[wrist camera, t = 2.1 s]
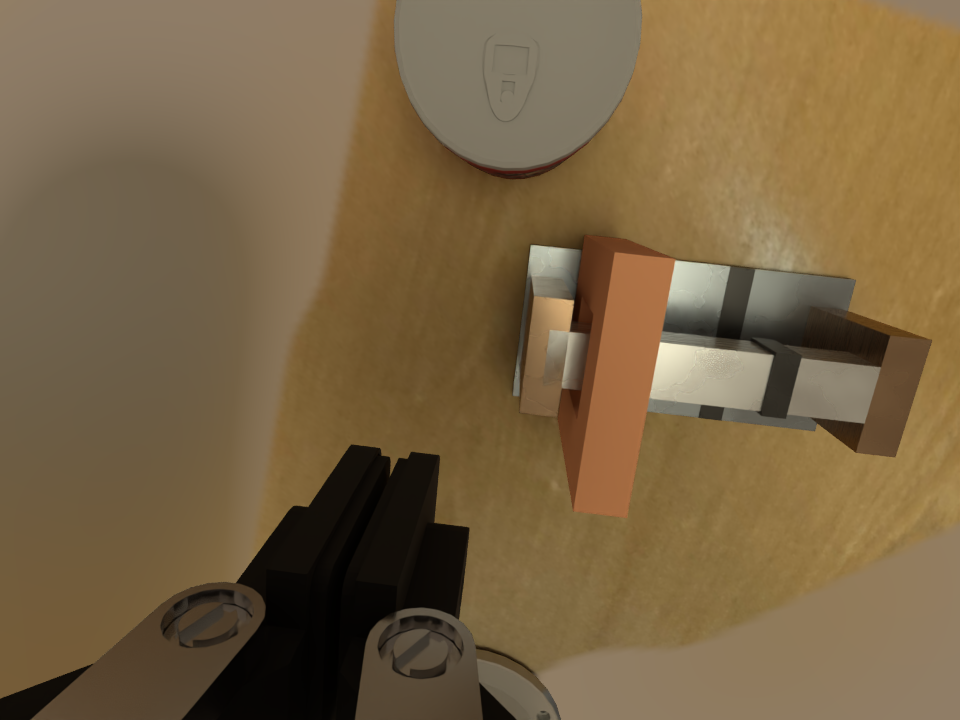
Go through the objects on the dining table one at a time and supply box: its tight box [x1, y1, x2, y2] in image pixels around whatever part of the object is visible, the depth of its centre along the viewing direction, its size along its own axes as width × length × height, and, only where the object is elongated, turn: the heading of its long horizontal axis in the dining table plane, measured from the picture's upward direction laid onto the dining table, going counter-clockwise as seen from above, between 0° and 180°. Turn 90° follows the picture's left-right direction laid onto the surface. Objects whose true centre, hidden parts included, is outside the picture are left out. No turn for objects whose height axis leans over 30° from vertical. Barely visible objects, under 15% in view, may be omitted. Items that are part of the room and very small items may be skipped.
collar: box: [558, 235, 676, 518], centre depth 26 cm, size 2×10×10 cm, turn 174°
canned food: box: [394, 0, 642, 179], centre depth 23 cm, size 8×8×11 cm
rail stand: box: [513, 244, 932, 457], centre depth 28 cm, size 16×8×7 cm, turn 84°
